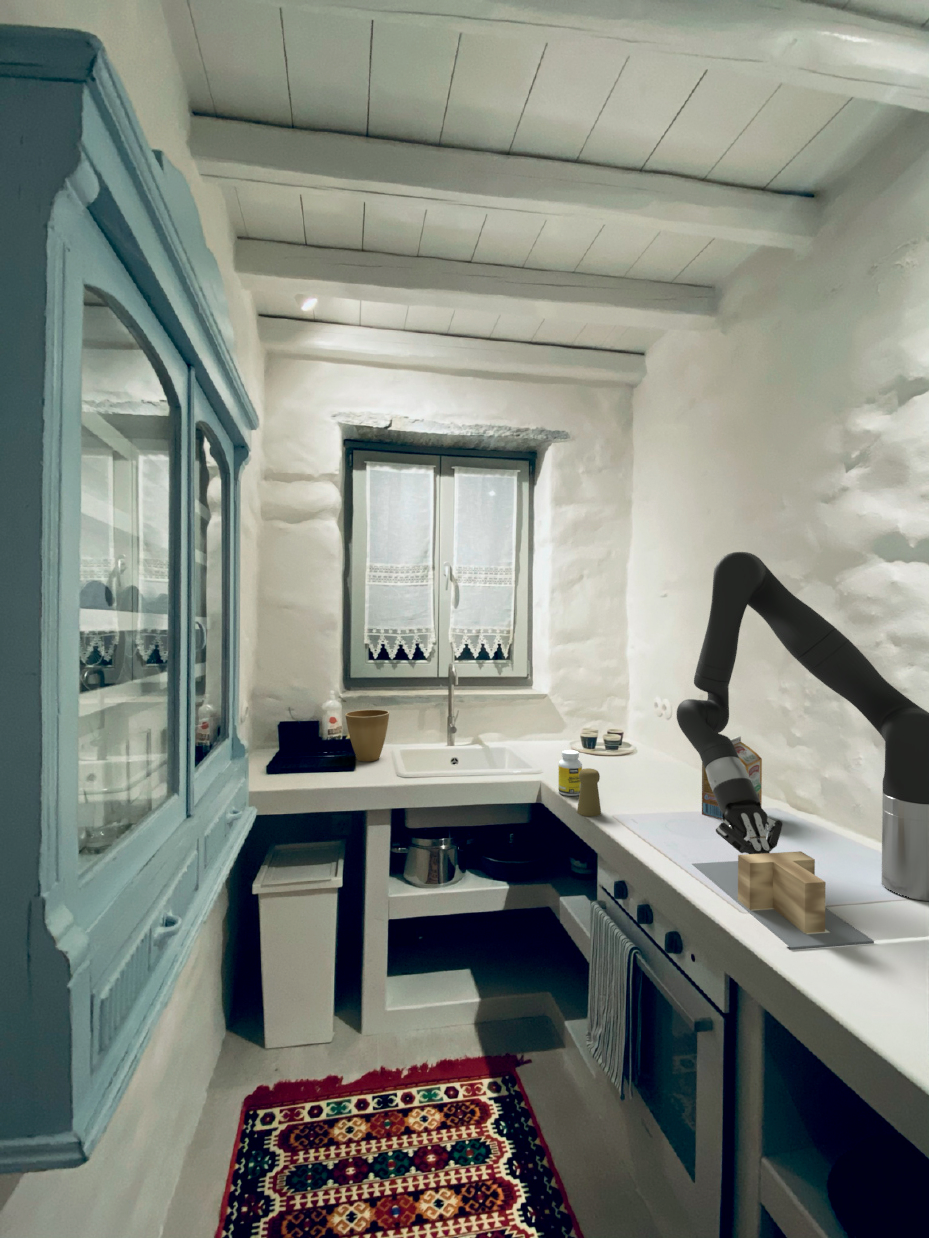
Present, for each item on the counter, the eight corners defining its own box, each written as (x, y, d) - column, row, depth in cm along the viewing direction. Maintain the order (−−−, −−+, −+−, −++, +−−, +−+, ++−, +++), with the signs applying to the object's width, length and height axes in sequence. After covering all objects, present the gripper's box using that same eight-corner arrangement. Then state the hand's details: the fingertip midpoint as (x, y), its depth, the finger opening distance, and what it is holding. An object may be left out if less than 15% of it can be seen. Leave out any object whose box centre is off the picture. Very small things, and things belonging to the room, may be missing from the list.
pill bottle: (563, 797, 165) (563, 755, 164) (555, 790, 171) (555, 749, 171) (585, 795, 166) (585, 754, 166) (576, 788, 172) (576, 748, 172)
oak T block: (800, 895, 107) (801, 851, 107) (849, 929, 96) (849, 880, 96) (737, 899, 106) (738, 854, 106) (779, 935, 95) (780, 884, 94)
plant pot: (391, 753, 214) (390, 708, 214) (387, 764, 200) (387, 716, 199) (348, 754, 214) (348, 709, 213) (342, 765, 199) (342, 716, 198)
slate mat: (756, 861, 123) (756, 859, 123) (873, 943, 93) (873, 940, 93) (691, 865, 121) (691, 863, 121) (790, 949, 91) (790, 947, 91)
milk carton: (719, 804, 158) (719, 732, 158) (761, 814, 151) (762, 739, 150) (701, 814, 151) (702, 739, 151) (745, 825, 143) (745, 746, 143)
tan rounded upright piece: (584, 806, 157) (584, 764, 157) (605, 811, 153) (605, 768, 153) (572, 813, 152) (572, 769, 152) (594, 818, 148) (594, 773, 148)
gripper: (707, 777, 116) (743, 868, 104) (771, 775, 117) (813, 864, 105) (693, 795, 121) (725, 884, 109) (754, 793, 123) (793, 880, 111)
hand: (769, 874), depth 107 cm, fingers closed
